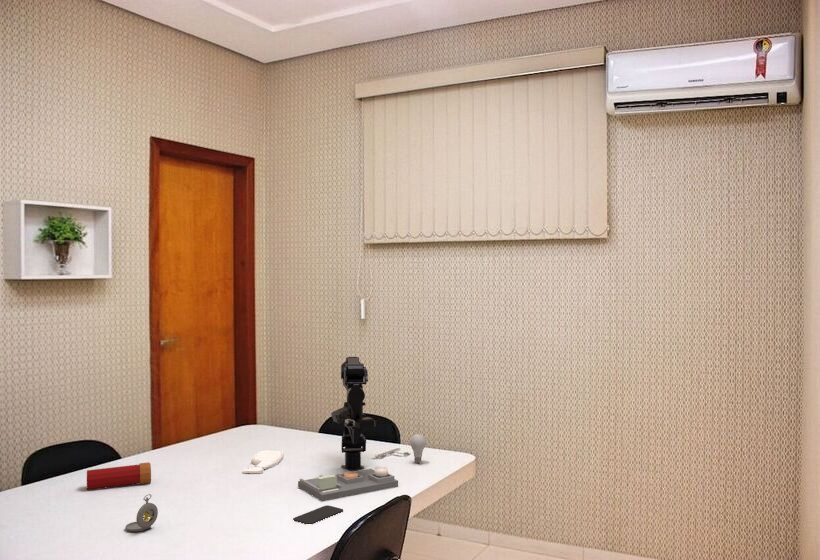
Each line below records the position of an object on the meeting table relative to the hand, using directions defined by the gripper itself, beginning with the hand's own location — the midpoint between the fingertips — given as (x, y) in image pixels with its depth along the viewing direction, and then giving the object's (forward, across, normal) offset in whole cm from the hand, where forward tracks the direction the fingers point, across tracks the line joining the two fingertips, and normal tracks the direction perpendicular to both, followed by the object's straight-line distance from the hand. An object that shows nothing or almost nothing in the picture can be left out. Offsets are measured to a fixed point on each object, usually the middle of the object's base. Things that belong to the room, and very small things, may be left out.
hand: (354, 443), depth 237 cm
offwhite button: (+8, +13, +3) cm, 16 cm away
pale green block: (+10, +12, -17) cm, 23 cm away
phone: (+13, +28, -28) cm, 41 cm away
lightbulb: (+12, -4, +30) cm, 33 cm away
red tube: (+12, -36, -71) cm, 80 cm away
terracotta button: (+10, +8, -6) cm, 14 cm away
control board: (+12, +8, -7) cm, 16 cm away
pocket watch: (+12, +11, -74) cm, 76 cm away
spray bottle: (+13, -34, -20) cm, 42 cm away
